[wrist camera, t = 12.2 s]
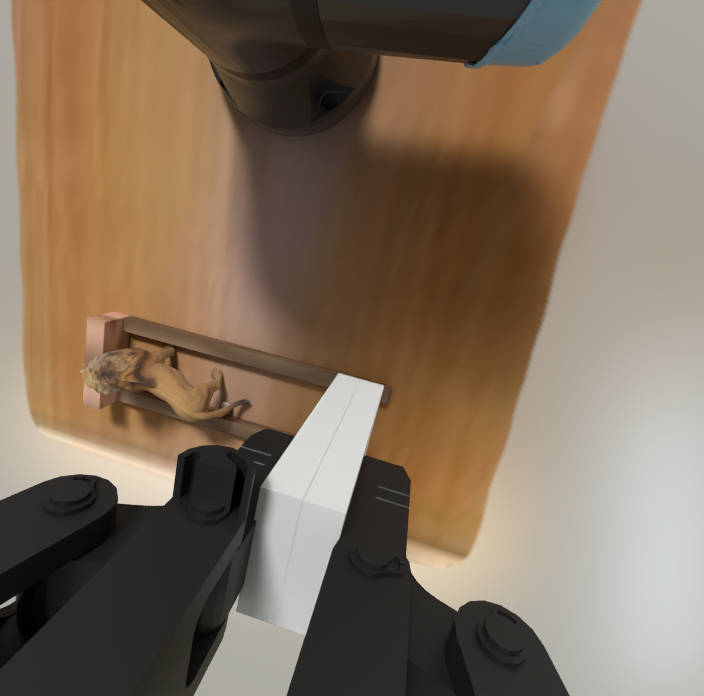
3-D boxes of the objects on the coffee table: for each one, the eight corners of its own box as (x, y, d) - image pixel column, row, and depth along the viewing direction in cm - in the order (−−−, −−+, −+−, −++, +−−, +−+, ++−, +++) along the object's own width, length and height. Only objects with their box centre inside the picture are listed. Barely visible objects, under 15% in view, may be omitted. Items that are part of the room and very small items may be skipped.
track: (114, 311, 47) (87, 317, 44) (391, 386, 44) (388, 400, 40) (109, 392, 50) (82, 404, 46) (369, 469, 47) (364, 489, 43)
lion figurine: (131, 369, 49) (68, 396, 40) (140, 328, 47) (77, 346, 39) (245, 419, 48) (206, 458, 39) (259, 378, 46) (221, 409, 38)
